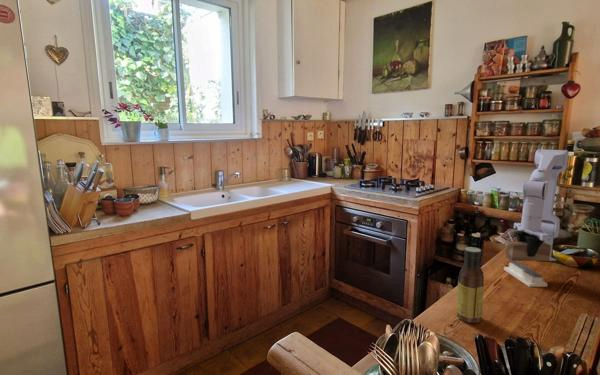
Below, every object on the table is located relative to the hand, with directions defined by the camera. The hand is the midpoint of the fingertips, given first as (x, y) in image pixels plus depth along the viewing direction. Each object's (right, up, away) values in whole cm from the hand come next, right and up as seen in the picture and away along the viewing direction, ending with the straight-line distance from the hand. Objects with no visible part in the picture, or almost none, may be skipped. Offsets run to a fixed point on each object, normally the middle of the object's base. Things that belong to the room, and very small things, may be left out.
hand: (527, 254), depth 118 cm
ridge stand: (0, -9, +1) cm, 9 cm away
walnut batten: (0, -2, 0) cm, 2 cm away
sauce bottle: (-33, -13, -25) cm, 43 cm away
